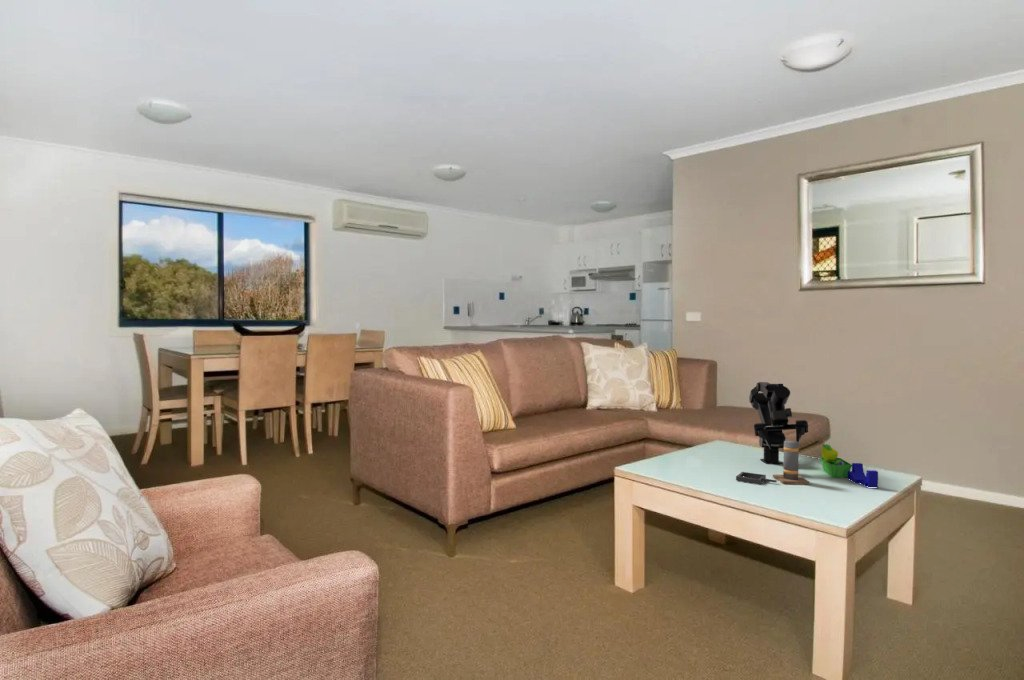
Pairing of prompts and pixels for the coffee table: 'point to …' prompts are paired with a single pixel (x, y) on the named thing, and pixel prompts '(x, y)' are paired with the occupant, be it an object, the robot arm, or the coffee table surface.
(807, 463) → the coffee table surface
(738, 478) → the collar
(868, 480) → the cable clip
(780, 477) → the walnut pad
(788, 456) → the orange-banded grey cylinder
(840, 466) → the fruit basket
